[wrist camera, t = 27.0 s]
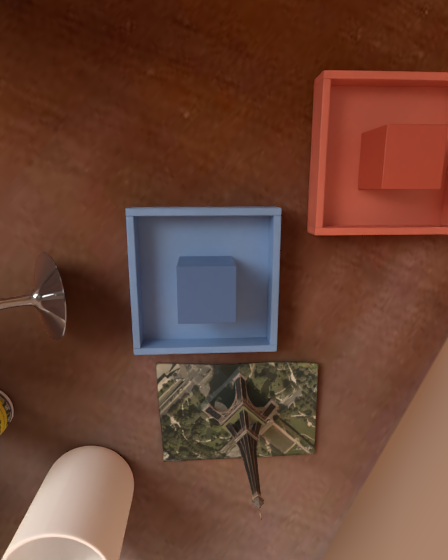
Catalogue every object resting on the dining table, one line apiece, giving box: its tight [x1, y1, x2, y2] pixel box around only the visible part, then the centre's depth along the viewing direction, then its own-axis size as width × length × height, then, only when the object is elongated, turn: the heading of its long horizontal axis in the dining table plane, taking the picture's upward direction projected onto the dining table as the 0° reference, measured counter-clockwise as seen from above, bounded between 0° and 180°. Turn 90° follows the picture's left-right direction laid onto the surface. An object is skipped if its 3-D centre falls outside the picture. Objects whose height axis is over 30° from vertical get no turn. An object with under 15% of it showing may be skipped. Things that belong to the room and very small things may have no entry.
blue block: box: [176, 256, 237, 324], centre depth 32 cm, size 4×4×4 cm
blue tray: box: [125, 207, 282, 355], centre depth 33 cm, size 12×12×2 cm
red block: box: [358, 124, 448, 190], centre depth 30 cm, size 4×4×4 cm
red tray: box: [307, 70, 448, 235], centre depth 32 cm, size 12×12×2 cm
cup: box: [1, 446, 134, 560], centre depth 34 cm, size 8×12×10 cm
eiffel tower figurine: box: [156, 362, 318, 520], centre depth 31 cm, size 15×10×13 cm
